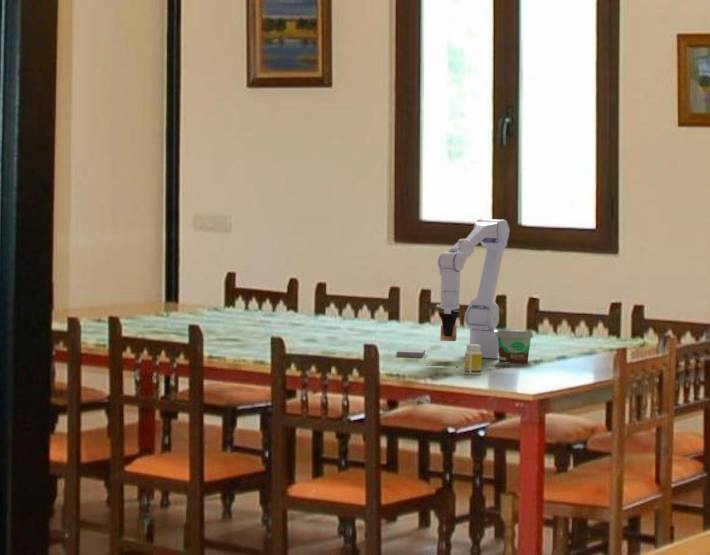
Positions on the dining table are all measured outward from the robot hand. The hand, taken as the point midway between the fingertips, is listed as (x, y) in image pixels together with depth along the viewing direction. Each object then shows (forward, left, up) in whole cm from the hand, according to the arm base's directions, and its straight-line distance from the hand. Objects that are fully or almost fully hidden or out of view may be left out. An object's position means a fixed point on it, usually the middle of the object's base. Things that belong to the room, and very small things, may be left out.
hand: (448, 335), depth 426 cm
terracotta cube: (0, 0, -2) cm, 2 cm away
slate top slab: (+12, -6, -8) cm, 15 cm away
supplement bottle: (-9, +24, -8) cm, 27 cm away
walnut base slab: (+12, -6, -9) cm, 16 cm away
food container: (-21, -7, -8) cm, 24 cm away
